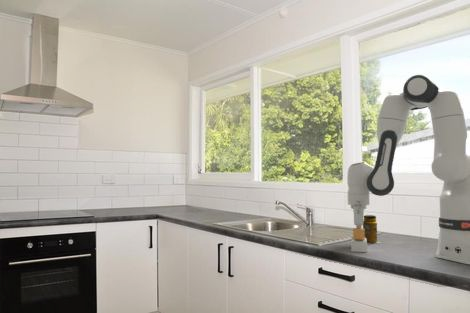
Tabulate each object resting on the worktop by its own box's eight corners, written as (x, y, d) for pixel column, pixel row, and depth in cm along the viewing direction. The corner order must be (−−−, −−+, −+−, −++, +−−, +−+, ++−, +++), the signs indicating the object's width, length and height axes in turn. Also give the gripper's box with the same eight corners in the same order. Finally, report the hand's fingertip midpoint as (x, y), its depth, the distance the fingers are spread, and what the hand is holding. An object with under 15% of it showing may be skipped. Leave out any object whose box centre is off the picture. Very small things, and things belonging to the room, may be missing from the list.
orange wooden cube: (353, 237, 156) (353, 228, 157) (364, 238, 155) (364, 228, 155) (353, 239, 153) (353, 229, 153) (364, 239, 151) (364, 229, 151)
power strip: (351, 246, 159) (351, 236, 160) (366, 247, 158) (366, 237, 158) (351, 251, 150) (351, 240, 150) (367, 252, 148) (366, 241, 148)
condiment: (381, 242, 168) (381, 216, 169) (367, 244, 165) (366, 217, 165) (369, 240, 175) (369, 214, 175) (355, 241, 171) (355, 215, 172)
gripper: (366, 202, 148) (367, 237, 147) (365, 199, 167) (366, 230, 167) (350, 202, 150) (350, 236, 149) (351, 198, 169) (351, 229, 169)
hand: (358, 233), depth 158 cm, fingers closed
